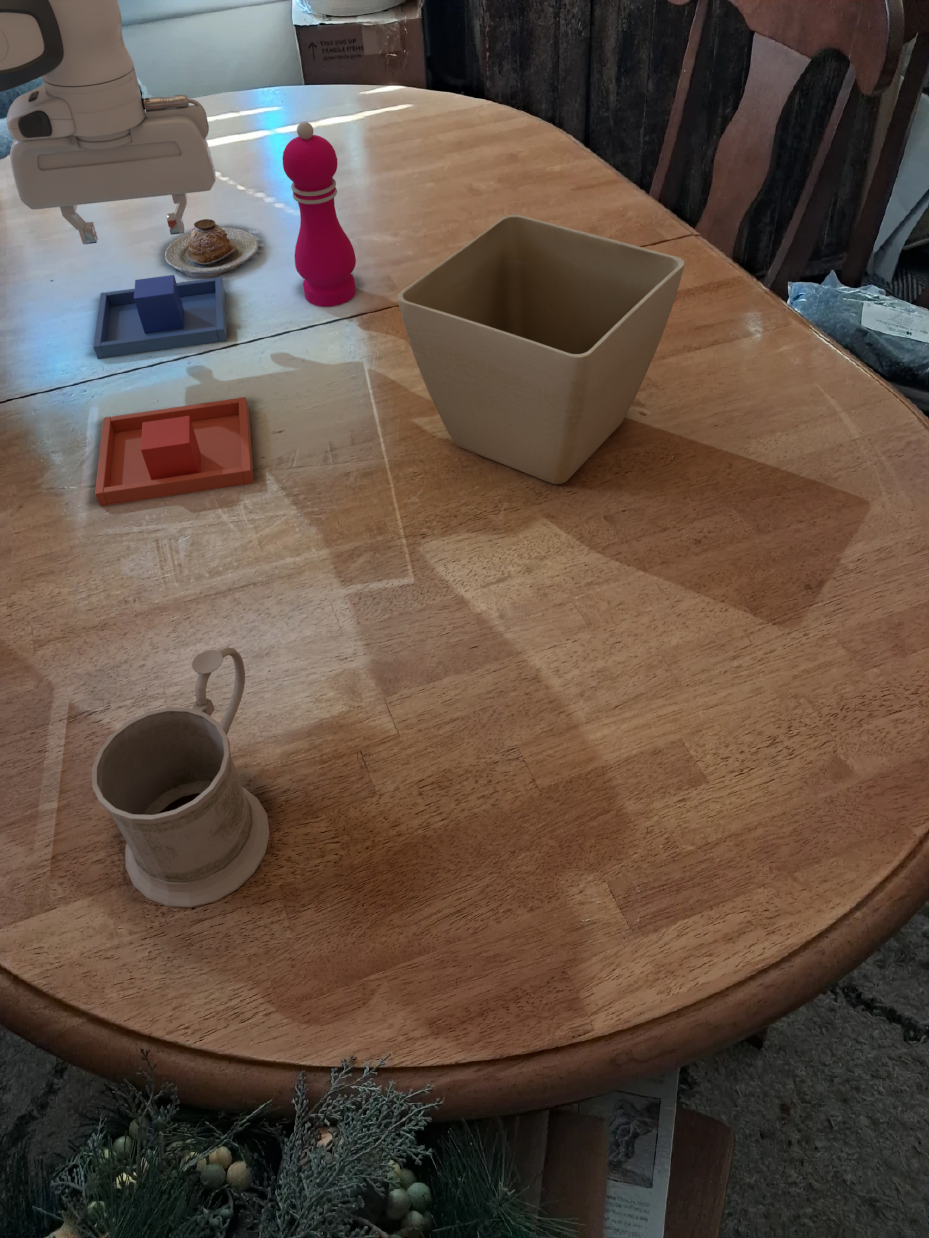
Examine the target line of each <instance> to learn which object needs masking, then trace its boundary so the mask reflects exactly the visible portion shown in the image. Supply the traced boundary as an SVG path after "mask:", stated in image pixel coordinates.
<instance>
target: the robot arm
mask: <svg viewBox="0 0 929 1238" xmlns="http://www.w3.org/2000/svg"><path fill="white" fill-rule="evenodd" d="M122 21H123V20H122V13H121V9H120V5H119V0H0V93H1V92H5V91H9V90H12V89H15V88H17V87H20V86H23V85H26V84H27V83H30V82H32V81H35V80H37V79H39V78H41V79H42V83H43V84H42V85H40V86H38V87H36V88H34V89H32V90H29V91H28V92H27V91H26V92H25V93H23V94H21V95H19V96H17V97H16V98H15V99H14V100H13V102H12V103H11V105H10V106H9V109H8V110H7V113H6V128H7V131H8V133H9V135H10V137H11V138H12V139H13V140H12V143H11V147H10V151H9V160H10V166H11V171H12V175H13V180H14V183H15V187H16V190H17V194H18V197H19V200H20V201H21V203H23V204H24V205H25V206H26V207H28V209H30V210H35V211H36V210H43V209H44V210H45V209H53V208H59V209H60V212H61V215H62V217H63V218H64V219H65V220H66V221H67V223H69V224H70V225H71V226H72V227H73V228H74V229H75V230H76V231H78V233H79V236H80V239H81V242H82V245H84V246H85V245H91V244H98V240H99V237H98V233H97V232H98V231H96V226H95V223H94V221H89V222H87V221H85V220H84V219H83V218H82V216H80V214H79V213H78V212H77V208H78V206H82V205H91V204H99V203H101V204H102V203H108V202H109V203H110V202H118V201H119V202H120V201H127V200H135V199H146V198H154V197H163V196H164V197H165V196H171V198H172V201H173V204H174V205H176V206H175V209H174V212H170V213H166V214H167V215H166V222H167V225H168V228H169V233H170V235H172V236H173V235H181V234H185V225H184V220H183V215H184V213H185V210H186V207H187V204H188V194H193V193H201V192H209V191H211V190H212V188H213V187H214V186H215V183H216V179H217V175H216V173H217V172H216V168H215V163H214V159H213V156H212V153H211V150H210V147H209V144H208V140H207V138H208V135H209V131H210V125H209V122H208V117H207V112H206V110H205V109H206V108H204V106H203V105H202V103H200V102H199V101H197V100H195V99H194V98H189V97H188V95H186V94H175V95H174V96H164V97H163V96H155V97H144V98H143V97H142V93H141V89H140V85H139V80H138V77H137V72H136V69H135V66H134V61H133V58H132V56H131V54H130V53H129V51H128V49H127V47H126V44H125V41H124V37H123V30H122V29H123V28H122V26H123V22H122Z"/></svg>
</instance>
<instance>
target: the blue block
mask: <svg viewBox="0 0 929 1238" xmlns="http://www.w3.org/2000/svg"><path fill="white" fill-rule="evenodd" d="M177 283H178V282H177V280H176V277H175V274H171V275H170V274H169V275H162V276H155V277H147V278H140V279H135V280H134V289H135V290H134V301H135V304H136V308H137V311H138V314H139V317H140V320H141V323H142V327H143V330H144V333H145V334H146V333H153V332H161V331H168V330H175V329H182V328H183V322H184V309H183V305H182V301H181V298H180V294H179V291H178V287H177Z"/></svg>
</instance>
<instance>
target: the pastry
mask: <svg viewBox="0 0 929 1238" xmlns="http://www.w3.org/2000/svg"><path fill="white" fill-rule="evenodd" d="M258 248H259V242H258V239H257V237H255V235H253V234H252V233H250V232H248V231H246V230H242V229H239V228H233V227H220V226H219V225H218V224H216V221H215V220H214V219H209V218H205V219H203V218H202V219H200V220H197V221H195V222H194V223H193V227H192V229H191V230H190V233H187V234H185V235H182V236H181V237H179V238H176V239H175V240H174V241H172V242H171V243H170V244H169V246H168V247H167V248H166V250H165V252H164V258H165V261H166V263H167V264H168V265H169V266H171V267H172V268H175V269H176V271H178V272H180V273H183V274H184V276H187V277H189V278H198V279H208V278H217V277H221V276H222V275H227V274H231V273H234V272H236V271H237V270H239V269H240V265H241V264H243V263H245V262H247V261H249V259H251V258H252V257H253V256H254V255H255V254H256V252H257V250H258Z"/></svg>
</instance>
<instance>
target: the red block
mask: <svg viewBox="0 0 929 1238" xmlns="http://www.w3.org/2000/svg"><path fill="white" fill-rule="evenodd" d="M141 452H142V455H143V458H144V461H145V463H146V466H147V469H148V472H149V475H150V478H151V480H157V479H164V478H170V477H177V476H183V475H190V474H196V473H201V453H200V449H199V446H198V443H197V439H196V436H195V433H194V429H193V426H192V423H191V419H190V416H184V417H177V418H170V419H164V420H157V421H150V422H143V423H142V439H141Z"/></svg>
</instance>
